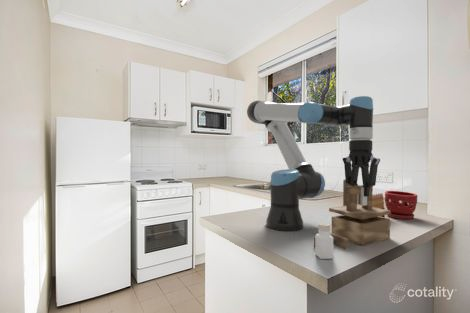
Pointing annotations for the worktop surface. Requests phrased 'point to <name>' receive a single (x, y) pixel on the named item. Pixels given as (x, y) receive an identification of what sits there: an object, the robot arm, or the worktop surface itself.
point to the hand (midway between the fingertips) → (359, 204)
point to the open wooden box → (361, 229)
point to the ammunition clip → (378, 202)
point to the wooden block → (346, 193)
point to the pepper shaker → (324, 242)
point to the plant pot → (401, 204)
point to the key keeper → (338, 241)
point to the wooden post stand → (356, 209)
